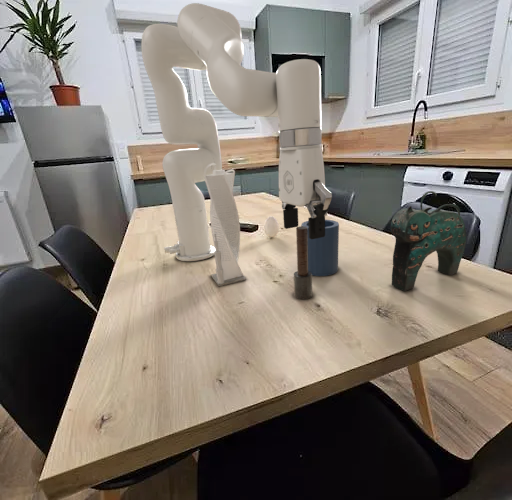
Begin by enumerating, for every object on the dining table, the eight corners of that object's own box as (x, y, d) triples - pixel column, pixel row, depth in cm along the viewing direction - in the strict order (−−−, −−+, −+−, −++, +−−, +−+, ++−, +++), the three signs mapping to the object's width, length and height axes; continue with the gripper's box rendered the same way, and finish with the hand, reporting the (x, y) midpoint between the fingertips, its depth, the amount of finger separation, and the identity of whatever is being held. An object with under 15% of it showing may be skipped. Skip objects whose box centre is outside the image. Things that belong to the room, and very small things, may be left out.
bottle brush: (300, 301, 61) (298, 231, 57) (291, 293, 65) (288, 227, 60) (315, 296, 63) (315, 228, 58) (306, 289, 66) (305, 224, 61)
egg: (277, 239, 103) (276, 218, 100) (262, 239, 105) (261, 218, 102) (281, 235, 108) (280, 214, 105) (267, 234, 109) (265, 214, 107)
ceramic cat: (402, 295, 60) (412, 197, 54) (378, 284, 66) (384, 194, 60) (467, 274, 67) (482, 185, 61) (440, 265, 73) (451, 183, 67)
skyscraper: (209, 274, 78) (195, 164, 69) (238, 267, 81) (228, 161, 72) (218, 286, 71) (203, 165, 62) (250, 278, 74) (240, 161, 64)
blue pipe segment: (314, 279, 71) (314, 230, 67) (296, 266, 79) (294, 223, 75) (345, 271, 74) (346, 224, 70) (324, 260, 82) (324, 217, 78)
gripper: (262, 145, 60) (268, 227, 65) (308, 139, 45) (310, 246, 50) (294, 142, 62) (297, 221, 68) (348, 135, 47) (347, 238, 52)
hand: (303, 232), depth 59 cm, fingers open, 9 cm apart
